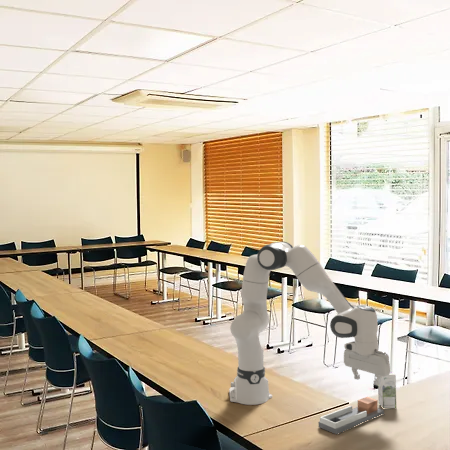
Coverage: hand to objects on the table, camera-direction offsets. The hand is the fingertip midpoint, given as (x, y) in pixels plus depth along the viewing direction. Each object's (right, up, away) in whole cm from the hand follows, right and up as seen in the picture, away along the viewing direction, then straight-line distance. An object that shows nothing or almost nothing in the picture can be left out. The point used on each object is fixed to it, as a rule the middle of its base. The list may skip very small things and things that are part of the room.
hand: (366, 381), depth 225 cm
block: (+1, -11, +1) cm, 12 cm away
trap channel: (-7, -14, -4) cm, 16 cm away
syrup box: (+11, -13, +9) cm, 19 cm away
